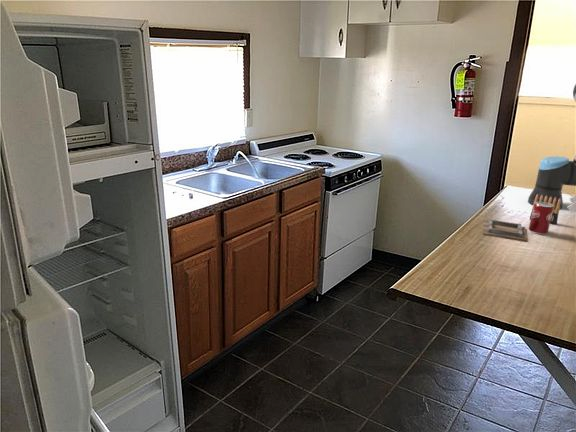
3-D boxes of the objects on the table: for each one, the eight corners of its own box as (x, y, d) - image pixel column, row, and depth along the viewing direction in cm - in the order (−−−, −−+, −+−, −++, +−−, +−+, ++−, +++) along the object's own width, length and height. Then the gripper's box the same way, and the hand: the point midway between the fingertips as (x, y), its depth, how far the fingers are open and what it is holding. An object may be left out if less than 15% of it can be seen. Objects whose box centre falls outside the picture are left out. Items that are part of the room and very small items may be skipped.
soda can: (528, 233, 197) (534, 205, 193) (527, 227, 203) (533, 200, 199) (548, 236, 194) (555, 208, 190) (546, 230, 200) (553, 203, 196)
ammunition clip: (556, 224, 208) (563, 198, 204) (555, 225, 207) (562, 198, 203) (530, 218, 214) (535, 192, 210) (529, 219, 213) (534, 193, 209)
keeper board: (484, 222, 207) (484, 217, 206) (524, 228, 201) (525, 223, 200) (483, 234, 193) (484, 229, 192) (526, 241, 187) (527, 236, 186)
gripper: (634, 190, 166) (574, 221, 178) (631, 176, 186) (577, 205, 198) (620, 172, 167) (562, 205, 179) (618, 160, 187) (566, 190, 199)
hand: (570, 205), depth 189 cm, fingers open, 13 cm apart
